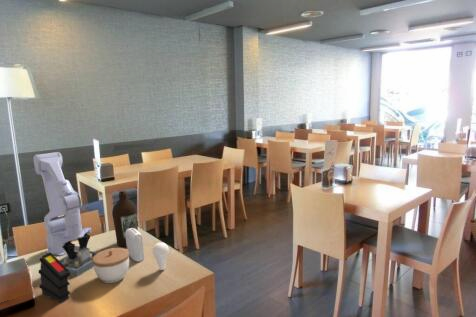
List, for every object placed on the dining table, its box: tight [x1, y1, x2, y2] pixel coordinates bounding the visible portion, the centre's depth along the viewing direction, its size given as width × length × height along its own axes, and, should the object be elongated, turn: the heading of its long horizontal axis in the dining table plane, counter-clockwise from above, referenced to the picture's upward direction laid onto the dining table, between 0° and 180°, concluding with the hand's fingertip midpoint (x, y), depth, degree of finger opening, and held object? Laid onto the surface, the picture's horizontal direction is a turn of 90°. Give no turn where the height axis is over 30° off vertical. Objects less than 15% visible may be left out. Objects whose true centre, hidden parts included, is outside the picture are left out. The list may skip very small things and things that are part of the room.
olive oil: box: [111, 189, 139, 248], centre depth 151 cm, size 11×11×25 cm
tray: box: [58, 250, 98, 277], centre depth 134 cm, size 14×14×4 cm
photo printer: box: [125, 228, 145, 262], centre depth 138 cm, size 10×4×12 cm, turn 39°
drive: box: [64, 245, 91, 266], centre depth 133 cm, size 9×4×6 cm, turn 67°
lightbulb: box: [152, 242, 170, 271], centre depth 127 cm, size 6×6×11 cm
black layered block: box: [38, 253, 72, 303], centre depth 112 cm, size 4×13×15 cm, turn 60°
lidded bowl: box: [93, 247, 130, 284], centre depth 122 cm, size 13×13×11 cm
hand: (77, 255), depth 133 cm, fingers open, 5 cm apart
